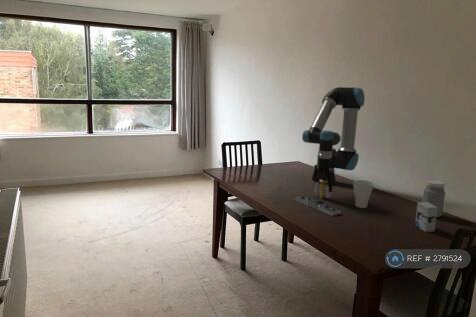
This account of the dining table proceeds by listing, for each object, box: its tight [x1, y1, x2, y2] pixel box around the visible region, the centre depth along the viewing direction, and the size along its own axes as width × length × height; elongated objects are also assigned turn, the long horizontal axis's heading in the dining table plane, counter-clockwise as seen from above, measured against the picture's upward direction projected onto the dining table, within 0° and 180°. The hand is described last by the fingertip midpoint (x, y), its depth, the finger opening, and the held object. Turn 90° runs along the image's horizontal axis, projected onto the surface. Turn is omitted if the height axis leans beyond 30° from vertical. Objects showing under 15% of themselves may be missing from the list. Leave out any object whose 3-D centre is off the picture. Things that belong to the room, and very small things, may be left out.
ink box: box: [414, 201, 438, 233], centre depth 168 cm, size 8×5×12 cm, turn 5°
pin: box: [318, 179, 327, 200], centre depth 210 cm, size 5×5×11 cm
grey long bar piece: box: [294, 195, 342, 217], centre depth 195 cm, size 29×7×4 cm, turn 32°
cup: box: [352, 180, 375, 209], centre depth 197 cm, size 10×10×14 cm
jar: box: [421, 179, 446, 219], centre depth 185 cm, size 10×10×18 cm
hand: (322, 194), depth 211 cm, fingers open, 9 cm apart
